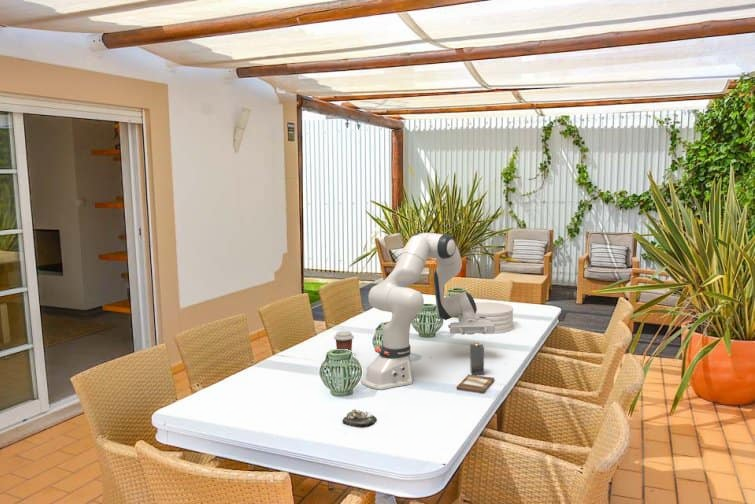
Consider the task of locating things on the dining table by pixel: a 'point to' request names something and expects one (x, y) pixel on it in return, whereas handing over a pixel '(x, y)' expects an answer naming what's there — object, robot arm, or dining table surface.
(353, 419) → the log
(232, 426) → the dining table surface
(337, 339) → the coffee cup
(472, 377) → the walnut board
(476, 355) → the block
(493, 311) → the plate stack
